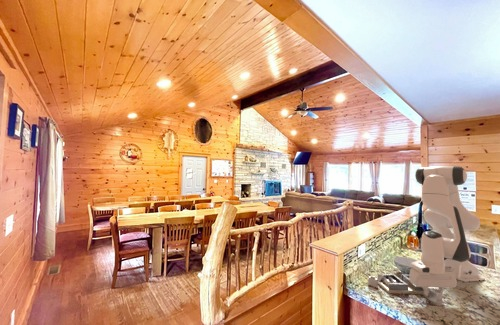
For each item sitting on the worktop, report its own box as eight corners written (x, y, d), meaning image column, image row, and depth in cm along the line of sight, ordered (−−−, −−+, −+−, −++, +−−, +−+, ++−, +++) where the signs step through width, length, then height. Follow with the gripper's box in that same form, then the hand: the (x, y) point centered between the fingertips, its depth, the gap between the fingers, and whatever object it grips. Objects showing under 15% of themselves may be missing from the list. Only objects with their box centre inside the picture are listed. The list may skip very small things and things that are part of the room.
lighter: (368, 285, 116) (368, 270, 116) (369, 283, 117) (369, 269, 117) (383, 290, 111) (383, 275, 111) (384, 289, 112) (384, 273, 112)
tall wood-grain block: (429, 296, 106) (429, 284, 106) (442, 305, 99) (442, 292, 99) (424, 296, 106) (424, 284, 106) (436, 305, 99) (436, 292, 99)
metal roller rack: (419, 283, 119) (419, 274, 119) (435, 294, 108) (435, 285, 108) (376, 281, 119) (376, 273, 119) (388, 292, 109) (388, 284, 109)
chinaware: (387, 270, 133) (387, 258, 133) (403, 267, 138) (403, 255, 138) (413, 283, 119) (413, 269, 119) (430, 278, 124) (430, 265, 124)
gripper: (448, 263, 106) (448, 292, 106) (407, 263, 106) (407, 291, 106) (460, 269, 100) (461, 299, 99) (416, 268, 100) (417, 298, 100)
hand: (433, 295), depth 103 cm, fingers open, 4 cm apart
